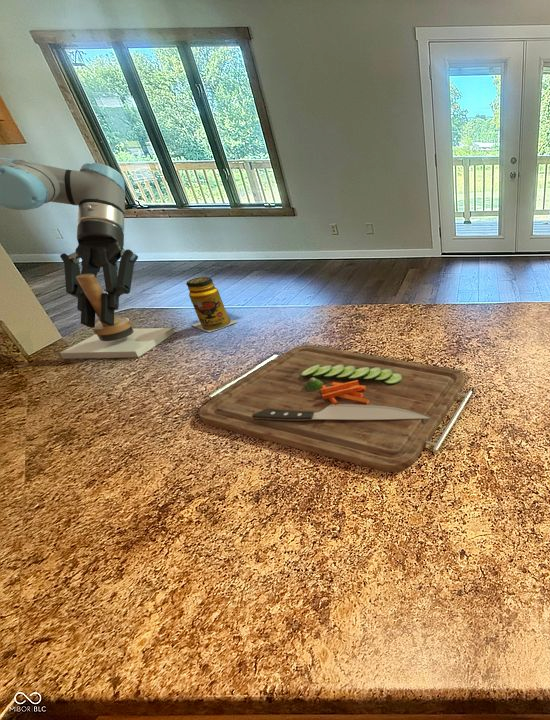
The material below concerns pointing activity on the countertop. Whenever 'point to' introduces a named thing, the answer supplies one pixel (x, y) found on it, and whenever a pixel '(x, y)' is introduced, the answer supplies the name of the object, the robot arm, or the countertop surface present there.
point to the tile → (119, 345)
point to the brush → (94, 296)
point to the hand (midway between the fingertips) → (97, 324)
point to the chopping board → (341, 405)
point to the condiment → (208, 305)
